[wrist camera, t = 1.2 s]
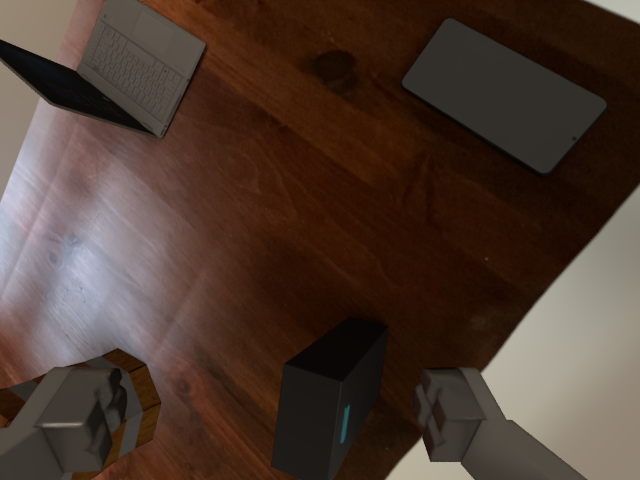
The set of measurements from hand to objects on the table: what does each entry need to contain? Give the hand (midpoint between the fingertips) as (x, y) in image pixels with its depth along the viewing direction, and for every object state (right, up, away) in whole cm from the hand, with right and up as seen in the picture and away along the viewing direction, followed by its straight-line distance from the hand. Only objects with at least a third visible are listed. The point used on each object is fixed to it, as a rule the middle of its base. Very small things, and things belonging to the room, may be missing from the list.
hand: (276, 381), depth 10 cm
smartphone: (+16, +16, +21) cm, 31 cm away
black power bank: (+5, -8, +26) cm, 27 cm away
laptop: (-22, +26, +36) cm, 50 cm away
